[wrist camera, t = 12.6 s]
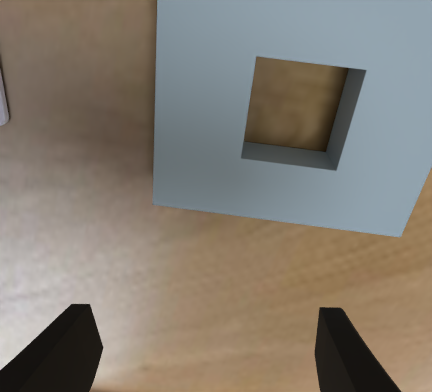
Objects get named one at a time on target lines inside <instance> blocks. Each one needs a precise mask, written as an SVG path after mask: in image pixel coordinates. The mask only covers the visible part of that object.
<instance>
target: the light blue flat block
mask: <svg viewBox="0 0 432 392" xmlns="http://www.w3.org/2000/svg"><path fill="white" fill-rule="evenodd" d="M256 56H258V57H266V58H275V59H283V60H291V61H299V62H307V63H315V64H323V65H331V66H339V67H347V68H349V70H348V74H347V77H346V81H345V85H344V88H343V92H342V96H341V99H340V103H339V106H338V110H337V114H336V117H335V121H334V125H333V128H332V132H331V135H330V139H329V143H328V146H327V150H326V152H322V151H314V150H306V149H299V148H291V147H283V146H275V145H267V144H260V143H252V142H244V134H245V128H246V121H247V114H248V108H249V101H250V95H251V88H252V82H253V75H254V69H255V62H256ZM431 167H432V0H157V41H156V84H155V126H154V169H153V205H159V206H167V207H174V208H182V209H189V210H197V211H205V212H212V213H220V214H228V215H235V216H243V217H250V218H258V219H266V220H273V221H281V222H288V223H296V224H304V225H311V226H319V227H326V228H334V229H342V230H349V231H357V232H364V233H372V234H380V235H387V236H395V237H401V235H402V233H403V230H404V228H405V226H406V224H407V221H408V219H409V217H410V214H411V212H412V210H413V208H414V205H415V203H416V201H417V199H418V196H419V194H420V192H421V190H422V187H423V185H424V183H425V180H426V178H427V176H428V174H429V171H430V169H431Z"/></svg>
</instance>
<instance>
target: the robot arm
mask: <svg viewBox="0 0 432 392" xmlns="http://www.w3.org/2000/svg"><path fill="white" fill-rule="evenodd" d="M8 120H9V114H8V109H7V103H6V98H5V92H4V87H3V81H2V75H1V70H0V126H2V125H4V124H6V123H7V122H8ZM102 351H103V345H102V342H101V339H100V335H99V332H98V329H97V326H96V322H95V319H94V316H93V313H92V309H91V306H90V304H71V305H70V306H69V307H68V308H67V309H66V310H65V311H64V312H63V313H61V314H60V315H59V316H58V317H57V318H56V319H55V320H54V321H53V322H52V323H51V324H50V325H49V326H48V327H47V328H46V329H45V330H44V331H43V332H42V333H41V334H39V335H38V336H37V337H36V338H35V339H34V340H33V341H32V342H31V343H30V344H29V345H28V346H27V347H26V348H24V349H23V350H22V351H21V352H20V353H19V354H18V355H17V356H16V357H15V358H14V359H13V360H11V361H10V362H9V363H8V364H7V365H6V366H5V367H3V368H2V369H1V370H0V392H89V391H90V389H91V386H92V384H93V381H94V378H95V375H96V372H97V368H98V365H99V361H100V358H101V354H102ZM315 360H316V367H317V374H318V380H319V387H320V391H321V392H401V390H400V389H399V388H398V387H397V385H396V384H395V383H394V382H393V380H392V379H391V378H390V376H389V375H388V374H387V372H386V371H385V370H384V368H383V367H382V366H381V365H380V363H379V362H378V361H377V359H376V358H375V356H374V355H373V354H372V352H371V351H370V350H369V348H368V347H367V345H366V344H365V342H364V341H363V339H362V338H361V337H360V335H359V334H358V332H357V331H356V329H355V328H354V326H353V325H352V323H351V321H350V320H349V318H348V317H347V315H346V313H345V312H344V310H343V309H341V308H325V307H320V310H319V318H318V327H317V336H316V345H315Z"/></svg>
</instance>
